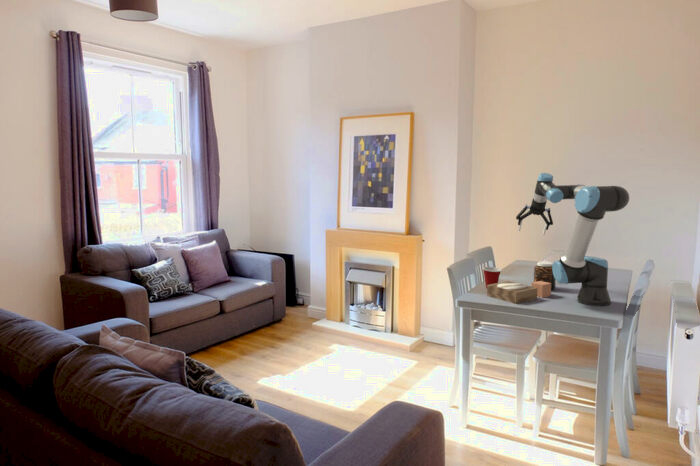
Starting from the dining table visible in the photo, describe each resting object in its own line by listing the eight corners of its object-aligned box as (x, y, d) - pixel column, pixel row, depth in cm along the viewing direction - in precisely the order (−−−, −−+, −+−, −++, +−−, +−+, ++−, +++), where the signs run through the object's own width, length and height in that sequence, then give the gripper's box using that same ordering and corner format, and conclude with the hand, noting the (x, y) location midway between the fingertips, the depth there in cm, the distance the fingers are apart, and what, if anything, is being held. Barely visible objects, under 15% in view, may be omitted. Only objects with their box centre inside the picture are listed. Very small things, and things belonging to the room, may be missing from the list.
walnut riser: (537, 299, 258) (537, 287, 257) (515, 303, 250) (516, 291, 249) (507, 291, 275) (507, 280, 274) (487, 295, 267) (487, 284, 266)
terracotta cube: (550, 295, 264) (551, 283, 263) (542, 297, 261) (542, 285, 260) (540, 293, 270) (540, 280, 269) (531, 295, 267) (531, 282, 266)
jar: (557, 291, 273) (558, 264, 271) (535, 290, 275) (535, 264, 274) (553, 286, 285) (553, 261, 283) (532, 285, 287) (532, 260, 285)
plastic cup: (499, 291, 275) (499, 270, 274) (480, 289, 281) (480, 269, 279) (503, 287, 285) (503, 267, 283) (484, 285, 290) (484, 265, 289)
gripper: (563, 200, 274) (553, 232, 285) (516, 193, 280) (509, 224, 291) (563, 206, 268) (554, 239, 279) (516, 199, 274) (509, 231, 285)
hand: (531, 231), depth 285 cm, fingers open, 13 cm apart
